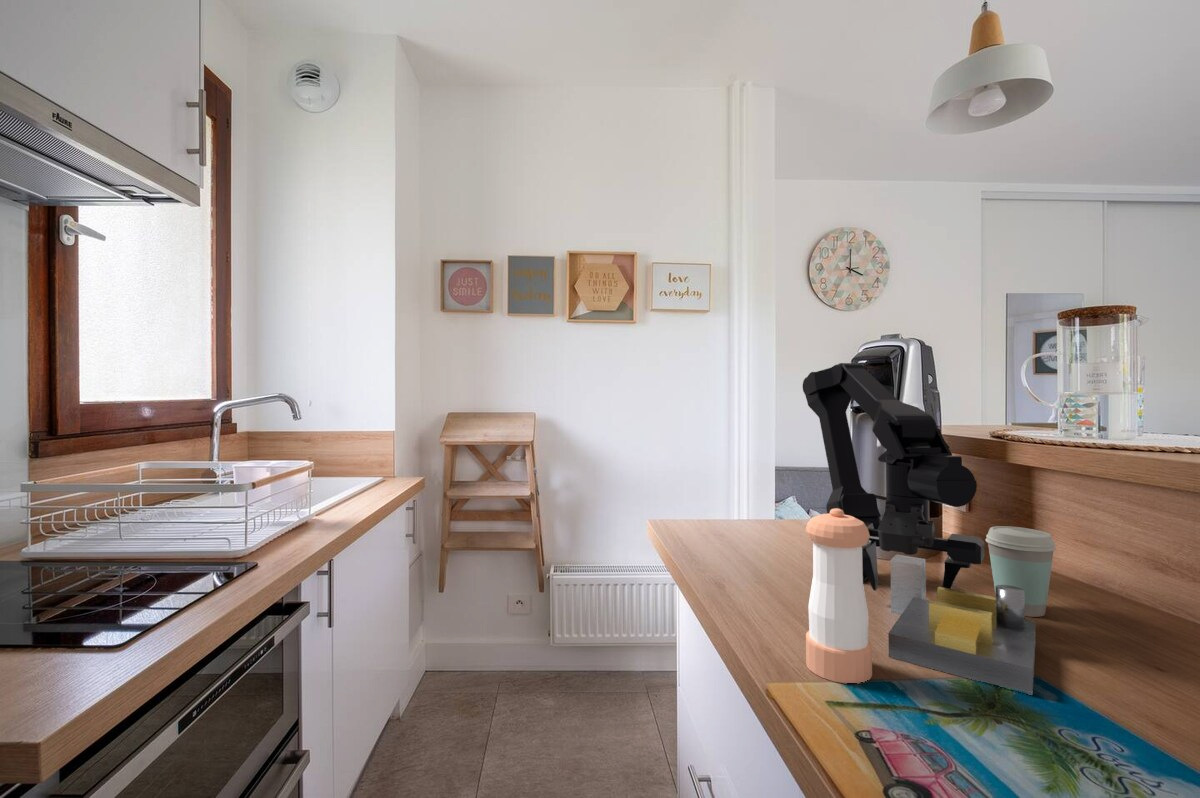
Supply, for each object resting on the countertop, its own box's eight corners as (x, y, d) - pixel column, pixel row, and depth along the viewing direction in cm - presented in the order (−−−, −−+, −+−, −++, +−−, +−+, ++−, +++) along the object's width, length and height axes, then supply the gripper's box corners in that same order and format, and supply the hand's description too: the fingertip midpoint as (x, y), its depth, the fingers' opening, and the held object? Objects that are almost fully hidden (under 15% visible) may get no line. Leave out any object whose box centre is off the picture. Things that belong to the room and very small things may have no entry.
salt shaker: (840, 689, 59) (839, 517, 59) (792, 660, 66) (791, 506, 66) (886, 676, 62) (884, 511, 62) (836, 649, 69) (834, 501, 69)
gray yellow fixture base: (888, 656, 66) (888, 597, 67) (913, 617, 79) (913, 566, 79) (1032, 696, 57) (1031, 627, 58) (1035, 644, 70) (1034, 587, 70)
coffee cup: (1071, 623, 77) (1070, 539, 77) (1004, 618, 78) (1003, 537, 78) (1035, 601, 85) (1034, 526, 85) (975, 597, 87) (974, 524, 87)
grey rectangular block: (891, 612, 81) (890, 560, 81) (896, 605, 84) (896, 554, 84) (921, 619, 78) (920, 565, 78) (926, 611, 81) (925, 559, 81)
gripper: (827, 494, 81) (827, 597, 81) (976, 510, 69) (977, 630, 69) (848, 486, 89) (849, 578, 89) (984, 498, 77) (985, 605, 77)
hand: (908, 596), depth 81 cm, fingers open, 9 cm apart
